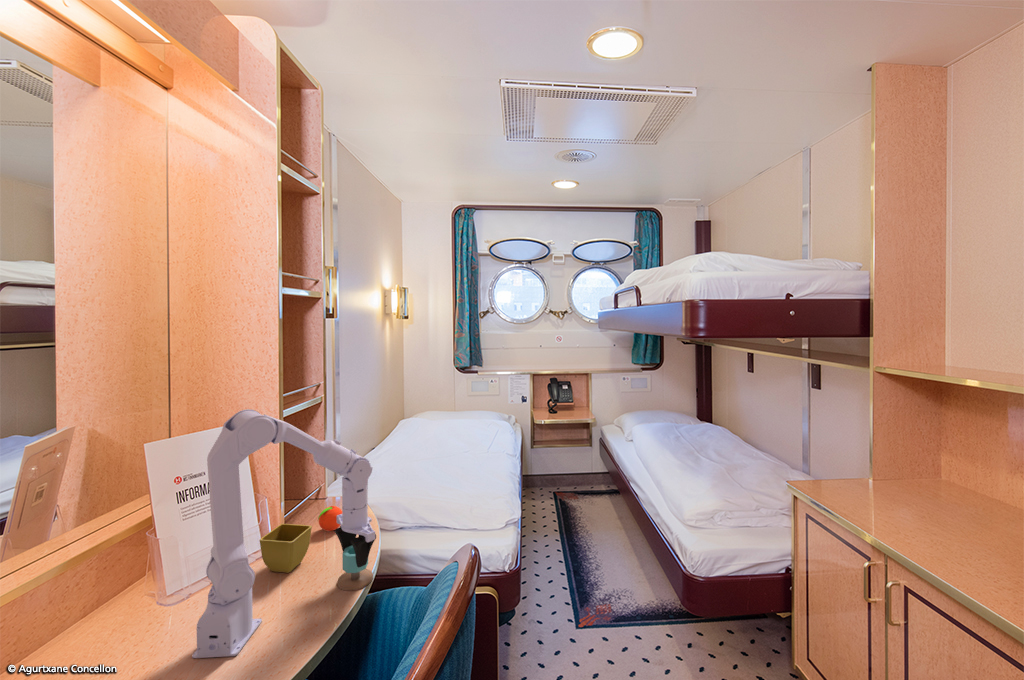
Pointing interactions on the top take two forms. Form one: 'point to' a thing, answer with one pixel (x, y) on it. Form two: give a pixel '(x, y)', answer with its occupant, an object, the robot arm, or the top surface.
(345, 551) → the collar
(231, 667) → the top surface
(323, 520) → the clementine
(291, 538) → the flower pot
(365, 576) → the post
